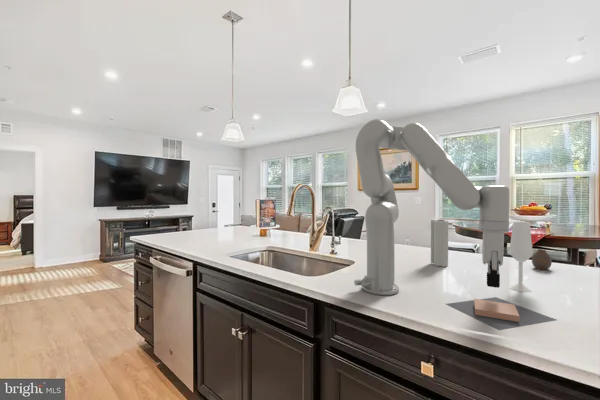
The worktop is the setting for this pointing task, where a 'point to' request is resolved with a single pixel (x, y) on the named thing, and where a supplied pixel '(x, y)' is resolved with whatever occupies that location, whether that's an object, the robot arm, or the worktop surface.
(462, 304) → the mat
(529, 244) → the champagne flute
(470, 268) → the worktop surface
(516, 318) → the tile
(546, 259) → the patterned egg
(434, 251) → the grey tall block
